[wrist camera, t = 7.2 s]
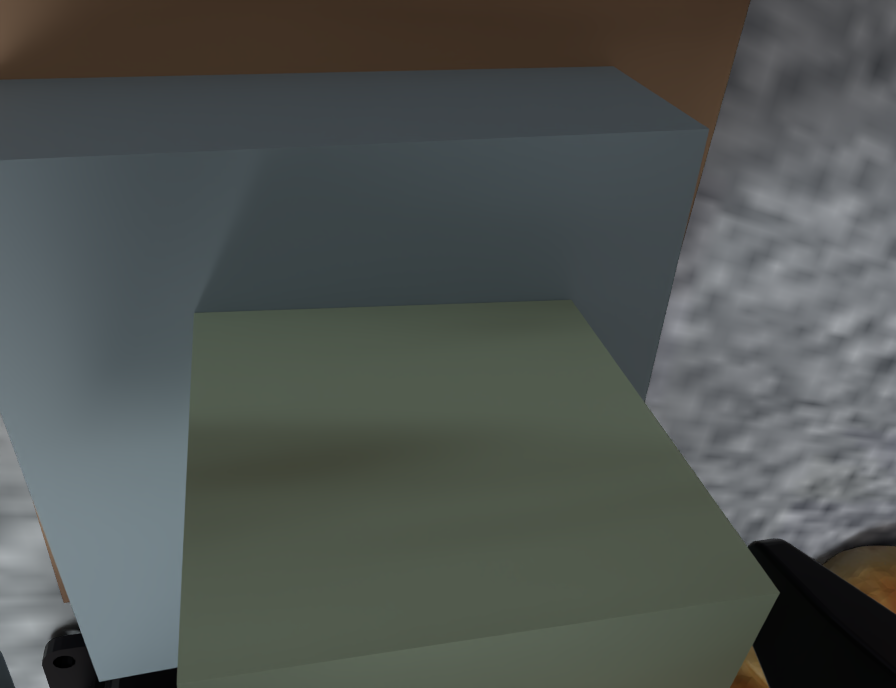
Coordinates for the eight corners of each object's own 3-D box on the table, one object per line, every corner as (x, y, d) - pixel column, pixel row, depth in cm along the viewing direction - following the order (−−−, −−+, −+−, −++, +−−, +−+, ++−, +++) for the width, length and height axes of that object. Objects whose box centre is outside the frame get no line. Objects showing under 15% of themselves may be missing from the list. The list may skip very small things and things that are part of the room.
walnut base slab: (559, 448, 21) (602, 530, 19) (84, 498, 18) (63, 602, 16) (663, -35, 14) (751, -3, 12) (-61, -77, 12) (-134, -46, 9)
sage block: (516, 545, 13) (640, 856, 9) (217, 581, 12) (218, 958, 8) (570, 300, 11) (780, 591, 7) (194, 312, 9) (177, 683, 5)
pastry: (841, 504, 25) (928, 602, 22) (937, 553, 28) (1024, 643, 25) (647, 675, 28) (700, 781, 25) (754, 700, 32) (812, 796, 29)
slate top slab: (546, 480, 17) (600, 589, 15) (117, 544, 15) (99, 681, 13) (612, 65, 12) (709, 128, 10) (-19, 80, 10) (-91, 165, 8)
